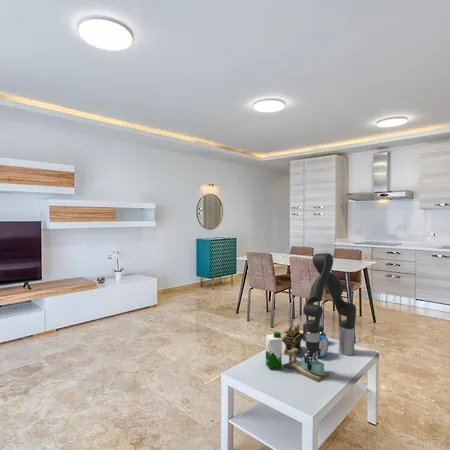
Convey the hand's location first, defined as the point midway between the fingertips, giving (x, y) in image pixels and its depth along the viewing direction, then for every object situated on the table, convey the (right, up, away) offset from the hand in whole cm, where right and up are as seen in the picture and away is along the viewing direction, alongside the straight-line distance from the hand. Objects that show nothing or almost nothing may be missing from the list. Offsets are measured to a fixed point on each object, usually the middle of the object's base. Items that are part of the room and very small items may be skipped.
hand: (312, 368), depth 180 cm
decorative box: (-6, -2, +28) cm, 28 cm away
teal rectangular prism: (0, -1, 0) cm, 1 cm away
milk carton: (-21, -3, +8) cm, 23 cm away
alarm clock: (+11, -3, +23) cm, 26 cm away
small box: (+13, -2, +47) cm, 49 cm away
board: (-3, -3, +3) cm, 5 cm away
